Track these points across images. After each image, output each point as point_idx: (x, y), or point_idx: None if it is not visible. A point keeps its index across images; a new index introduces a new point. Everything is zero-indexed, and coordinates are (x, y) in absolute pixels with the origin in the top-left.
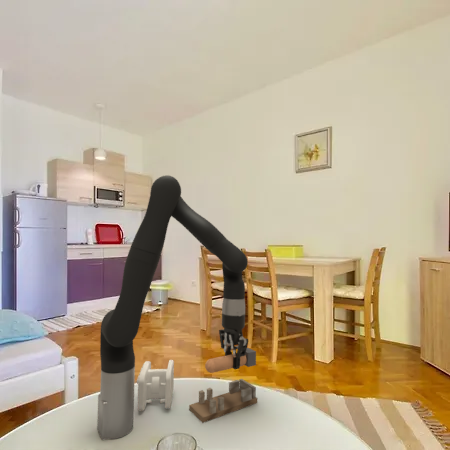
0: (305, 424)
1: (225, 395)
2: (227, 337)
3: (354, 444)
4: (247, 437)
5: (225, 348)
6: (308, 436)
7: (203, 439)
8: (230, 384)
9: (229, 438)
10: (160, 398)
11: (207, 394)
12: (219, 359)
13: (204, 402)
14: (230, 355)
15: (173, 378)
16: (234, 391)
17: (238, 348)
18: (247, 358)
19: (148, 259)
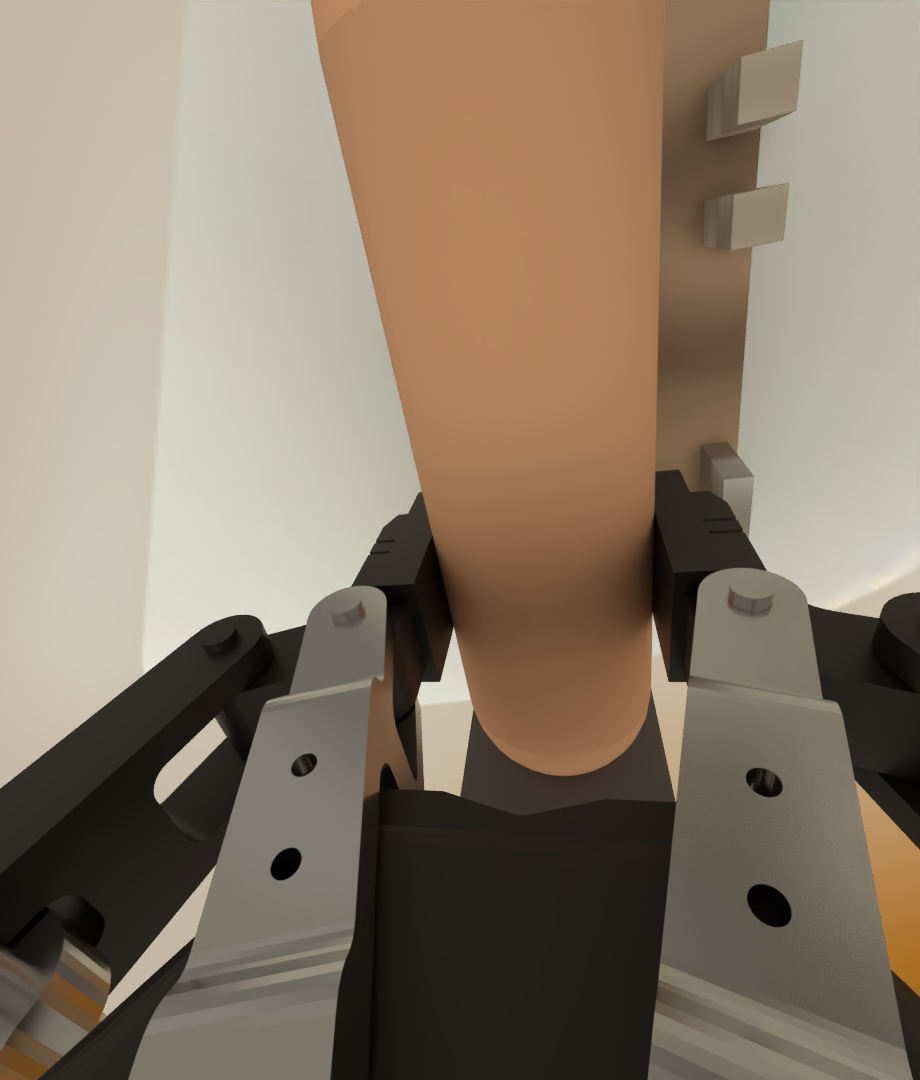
0: (286, 624)
1: (705, 395)
2: (643, 1076)
3: (146, 672)
4: (236, 316)
5: (734, 631)
6: (205, 582)
7: None
8: (727, 474)
9: (243, 192)
10: None
11: (750, 190)
12: (417, 257)
13: (708, 141)
14: (522, 583)
15: None
16: (702, 482)
17: (98, 772)
18: (485, 739)
19: None
